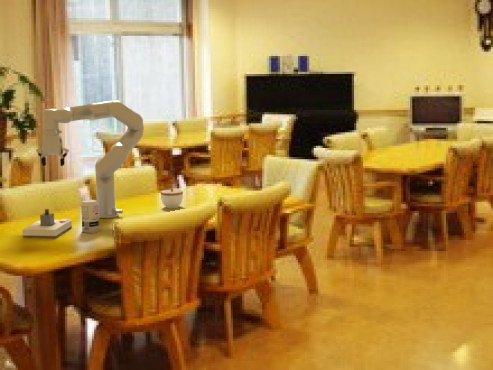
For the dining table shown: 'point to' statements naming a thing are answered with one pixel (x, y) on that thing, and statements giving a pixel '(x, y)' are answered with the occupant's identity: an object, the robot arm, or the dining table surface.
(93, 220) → the supplement can
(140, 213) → the dining table surface
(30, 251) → the dining table surface
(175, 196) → the lidded bowl
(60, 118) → the robot arm
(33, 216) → the dining table surface
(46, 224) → the plug
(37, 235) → the socket
